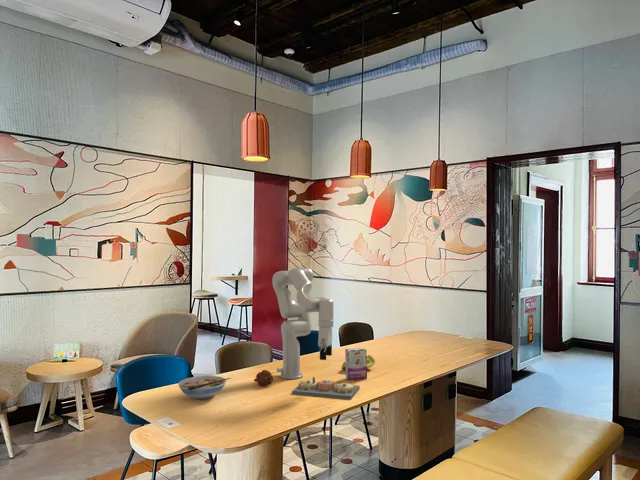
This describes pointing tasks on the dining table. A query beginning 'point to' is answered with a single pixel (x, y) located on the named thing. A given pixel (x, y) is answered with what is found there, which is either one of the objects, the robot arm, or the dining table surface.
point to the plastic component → (369, 362)
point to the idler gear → (326, 385)
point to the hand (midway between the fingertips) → (325, 357)
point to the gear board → (338, 392)
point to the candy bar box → (356, 363)
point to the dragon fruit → (264, 378)
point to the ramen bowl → (202, 386)
